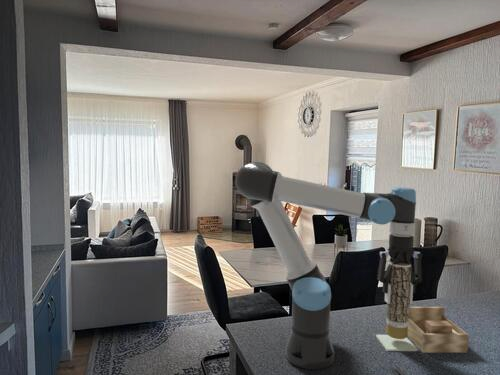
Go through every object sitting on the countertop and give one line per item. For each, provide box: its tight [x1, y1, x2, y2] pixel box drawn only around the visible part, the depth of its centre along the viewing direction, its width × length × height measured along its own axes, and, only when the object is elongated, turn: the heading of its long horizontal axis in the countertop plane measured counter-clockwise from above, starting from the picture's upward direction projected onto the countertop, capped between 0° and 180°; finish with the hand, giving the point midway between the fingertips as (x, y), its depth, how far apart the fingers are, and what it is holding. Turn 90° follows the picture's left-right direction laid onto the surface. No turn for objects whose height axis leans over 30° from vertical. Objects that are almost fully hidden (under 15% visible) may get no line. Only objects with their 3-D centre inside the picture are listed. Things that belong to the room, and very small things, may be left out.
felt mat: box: [375, 334, 419, 352], centre depth 126 cm, size 10×10×1 cm
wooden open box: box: [407, 306, 470, 354], centre depth 128 cm, size 15×15×9 cm
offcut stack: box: [425, 321, 457, 333], centre depth 123 cm, size 11×4×8 cm, turn 92°
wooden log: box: [385, 260, 412, 339], centre depth 125 cm, size 7×7×25 cm
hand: (398, 302), depth 125 cm, fingers closed on wooden log, 7 cm apart
